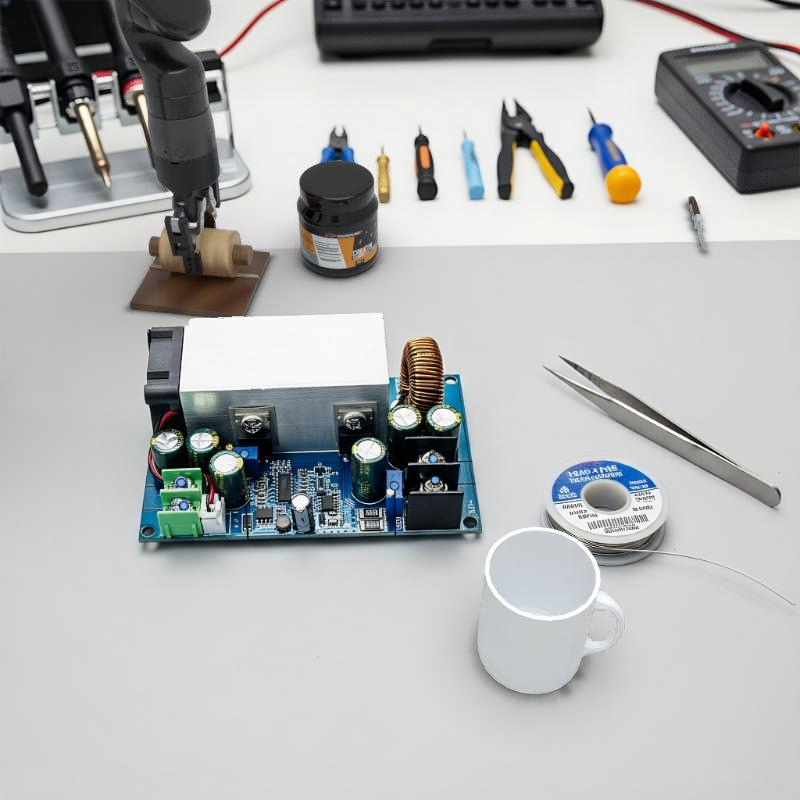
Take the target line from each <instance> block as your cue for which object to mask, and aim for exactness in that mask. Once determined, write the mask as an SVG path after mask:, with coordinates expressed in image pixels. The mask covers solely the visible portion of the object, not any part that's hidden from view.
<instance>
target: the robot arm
mask: <svg viewBox="0 0 800 800" xmlns="http://www.w3.org/2000/svg"><path fill="white" fill-rule="evenodd" d="M211 4H212V3H211V0H112V5H113V11H114V16H115V18H116V22H117V24H118V27H119V29H120V32H121V34H122V36H123V39H124V41H125V43H126V46H127V49H128V50H129V53H130V55H131V57H132V60H133V63H134V64H135V66H136V67H137V69H138V71H139V74H140V76H141V80H142V81H141V82H142V88H143V94H144V100H145V105H146V110H147V128H148V134H149V140H150V145H151V146H150V147H151V152H152V156H153V162H154V166H155V173H156V179H157V180H158V182H159V184H160V185H162V186H163V187H164V188H166V189H167V190H169V191H170V193H172V197H171V209H172V210H173V214H172V215H165V216H164V219H163V222H164V227H166V231H167V235H168V239H169V243H170V247H171V250H172V254H173V256H182V258H183V264H184V270H185V274H186V275H188V276H196V277H200V276H201V275H202V273H203V266H202V259H201V253H200V234H202V233H203V232H204V228H215V229H217V223H216V220H217V218H218V212H217V209H220V208H221V206H222V205H221V204H222V202H221V194H220V180H219V177H220V175H221V167H220V159H219V152H218V151H219V150H218V144H217V136H216V129H215V122H214V118H213V114H212V110H211V106H210V101H209V94H208V86H207V78H206V72H205V67H204V64H203V62H202V59H201V58H200V57H199V56H198V55H197V54H196V53H194V52H193V51H191V50H190V49H189V48H188V47H186V46H185V45H184V44H183V43H185V42H190V41H193V40H195V39H198V38H199V37H201V35H202V34H203V33H204V32H206V30H207V28H208V26H209V24H210V21H211V16H212V5H211ZM191 224H196V226H194V227H189V226H191ZM191 234H192V235H193V241H192V237H191Z"/></svg>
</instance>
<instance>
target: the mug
mask: <svg viewBox="0 0 800 800" xmlns="http://www.w3.org/2000/svg"><path fill="white" fill-rule="evenodd" d="M600 586H601V570H600V568H599V565H598V563H597V560H596V557H595V556H594V555H593V553H591V551H590V549H589V548H588V547H587V546H585V544H583V543H582V542H581V541H580V540H579V539H577V538H575V537H573V536H572V535H570V534H568V533H567V532H564V531H561V530H558V529H554V528H551V527H542V526H532V527H524V528H520V529H519V528H518V529H516V530H513V531H511V532H510V531H509V532H508V533H507V534H505V535H504V536H502V537H500V538H498V540H497V541H496V542H495V543H494V544H493V545H492V547H491V548H490V549H489V551H488V553H487V556H486V559H485V564H484V573H483V584H482V592H481V601H480V611H479V618H478V619H479V620H478V629H477V641H476V642H477V650H478V655H479V659H480V663H482V666H483V667H484V669H485V671H486V672H487V673H488V674H489V675H490V676H491V677H492V678H493V679H494V680H495V681H496V682H497V683H499V684H500V685H502V686H504V687H505V688H507V689H508V690H512V691H515V692H518V693H521V694H529V695H541V694H548V693H549V694H550V693H552V692H554V691H557V690H559V689H561V688H563V687H564V686H565V685H567V684H568V683H569V682H570V681H571V680H572V679H573V678H574V676H575V675H576V673H577V672H578V670H579V667H580V665H581V662H582V661H583V657H585V656H588V655H591V654H602V653H605V652H608V651H610V650H612V649H613V648H614V647H615V646H616V645H617V644H618V643H619V642H620V640H621V638H622V637H623V635H624V632H625V627H626V619H625V615H624V612H623V610H622V607H621V606H620V605H619V604H618V602H616V600H614V598H612V597H611V596H610V595H608V594H607V593H606V592H605V591H601V590H600ZM594 612H609V613H611V615H612V616H613V617H614V618H615V628H614V632H613V633H612V634H611V636H610V637H608V638H606V639H605V640H601V641H595V640H592V639H591V637H589V633H590V628H591V623H592V620H593V617H594V616H593V615H594Z"/></svg>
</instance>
